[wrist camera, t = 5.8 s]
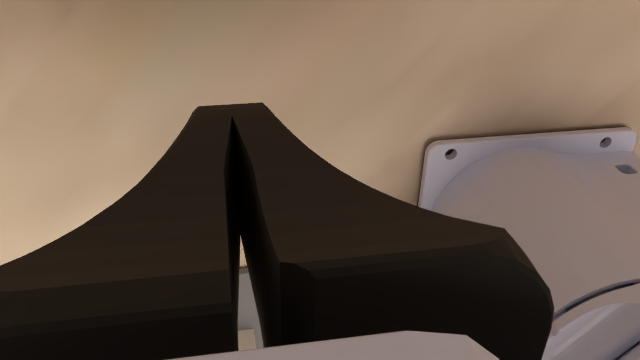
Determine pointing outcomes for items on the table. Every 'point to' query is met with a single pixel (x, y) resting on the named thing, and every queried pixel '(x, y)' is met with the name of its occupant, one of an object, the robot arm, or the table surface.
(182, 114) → the table surface
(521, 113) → the table surface
